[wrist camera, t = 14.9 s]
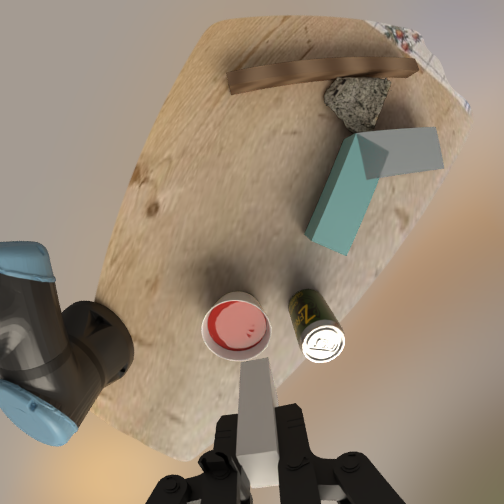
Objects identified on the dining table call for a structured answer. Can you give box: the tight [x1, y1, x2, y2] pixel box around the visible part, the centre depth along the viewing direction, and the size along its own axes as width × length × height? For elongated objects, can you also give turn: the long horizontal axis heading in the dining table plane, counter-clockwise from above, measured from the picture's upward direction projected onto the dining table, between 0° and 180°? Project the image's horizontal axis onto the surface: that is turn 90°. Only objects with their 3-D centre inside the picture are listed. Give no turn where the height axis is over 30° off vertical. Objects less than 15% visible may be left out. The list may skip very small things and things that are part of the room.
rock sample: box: [324, 77, 392, 133], centre depth 34 cm, size 10×8×9 cm
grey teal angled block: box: [304, 127, 444, 256], centre depth 36 cm, size 21×15×5 cm
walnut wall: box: [226, 57, 419, 95], centre depth 33 cm, size 28×2×4 cm, turn 102°
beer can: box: [289, 289, 345, 363], centre depth 36 cm, size 5×5×12 cm
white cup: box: [201, 291, 271, 361], centre depth 39 cm, size 9×9×6 cm
